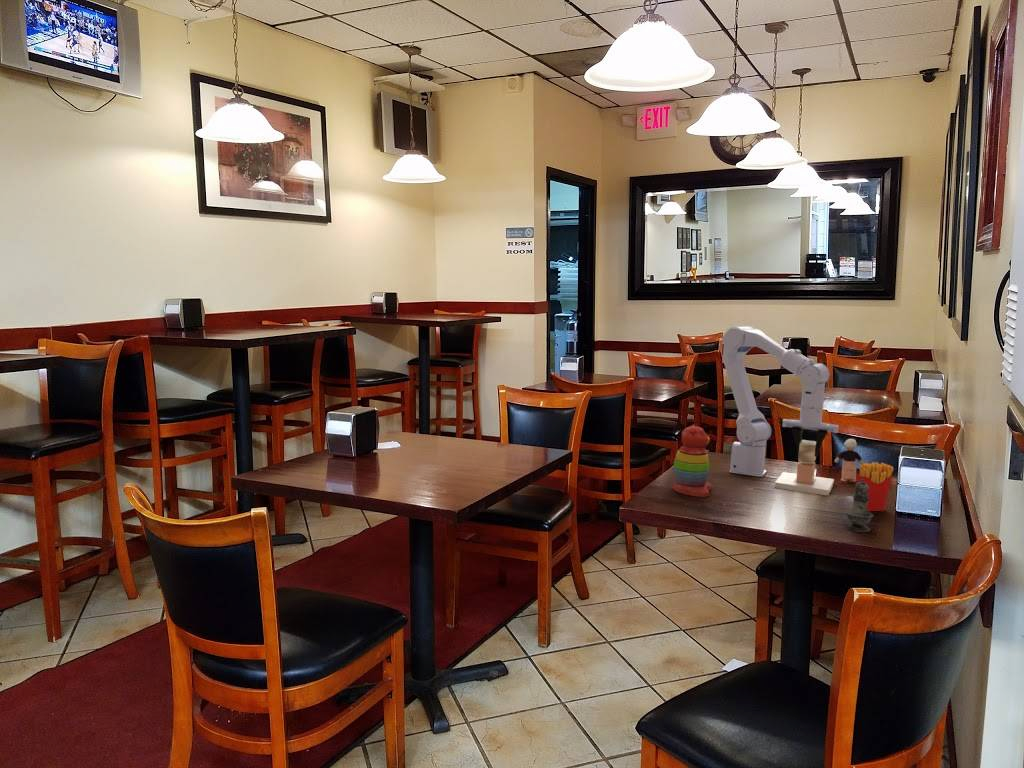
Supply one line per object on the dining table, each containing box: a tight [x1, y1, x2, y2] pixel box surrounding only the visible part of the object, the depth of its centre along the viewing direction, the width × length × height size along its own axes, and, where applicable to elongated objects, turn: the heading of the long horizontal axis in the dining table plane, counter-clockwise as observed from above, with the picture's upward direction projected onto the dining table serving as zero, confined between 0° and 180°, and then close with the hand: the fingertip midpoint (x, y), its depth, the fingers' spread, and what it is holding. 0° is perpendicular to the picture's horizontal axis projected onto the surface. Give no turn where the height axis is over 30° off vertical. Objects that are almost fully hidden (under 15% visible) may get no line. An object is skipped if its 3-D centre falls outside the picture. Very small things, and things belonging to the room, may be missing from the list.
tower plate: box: [774, 471, 835, 497], centre depth 218 cm, size 14×14×2 cm
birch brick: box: [797, 439, 817, 463], centre depth 216 cm, size 4×6×5 cm, turn 152°
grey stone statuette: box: [845, 479, 874, 533], centre depth 181 cm, size 6×6×12 cm
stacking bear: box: [672, 424, 713, 498], centre depth 207 cm, size 11×10×18 cm
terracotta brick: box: [796, 461, 816, 484], centre depth 217 cm, size 4×6×5 cm, turn 153°
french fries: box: [856, 461, 894, 512], centre depth 196 cm, size 8×4×12 cm, turn 94°
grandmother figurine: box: [834, 438, 864, 482], centre depth 224 cm, size 8×4×13 cm, turn 84°
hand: (807, 454), depth 216 cm, fingers closed on birch brick, 4 cm apart
